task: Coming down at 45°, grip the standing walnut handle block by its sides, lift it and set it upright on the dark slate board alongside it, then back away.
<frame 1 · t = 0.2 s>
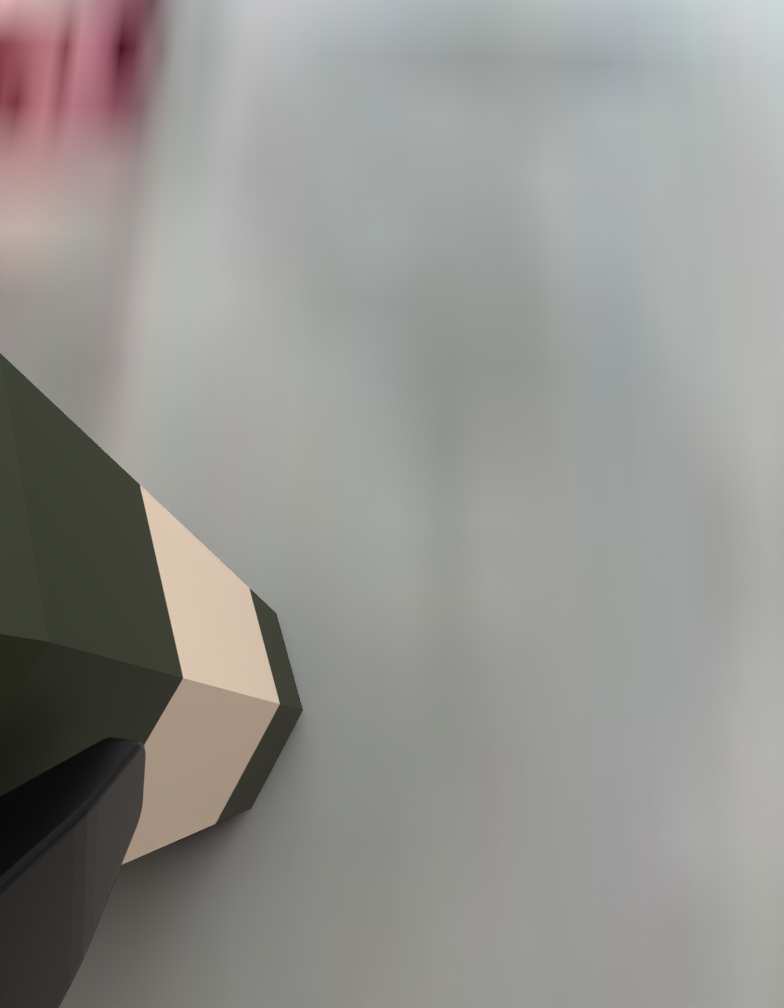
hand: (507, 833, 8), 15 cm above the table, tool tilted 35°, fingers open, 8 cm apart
wine bottle: (173, 699, 23), on the table, touching gripper
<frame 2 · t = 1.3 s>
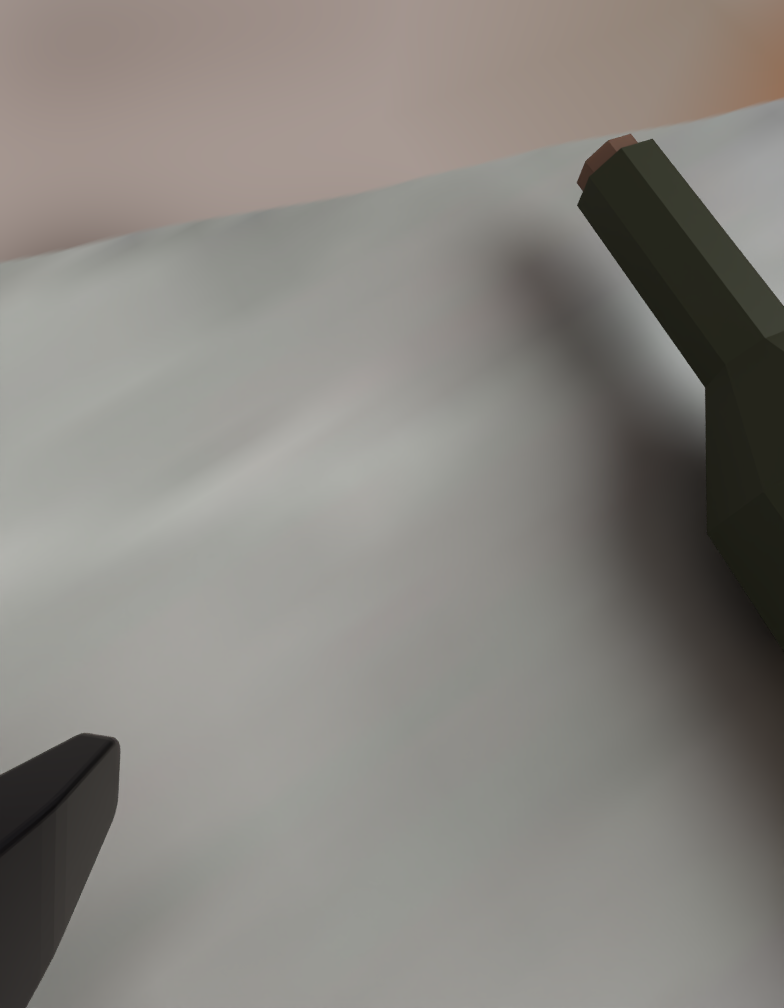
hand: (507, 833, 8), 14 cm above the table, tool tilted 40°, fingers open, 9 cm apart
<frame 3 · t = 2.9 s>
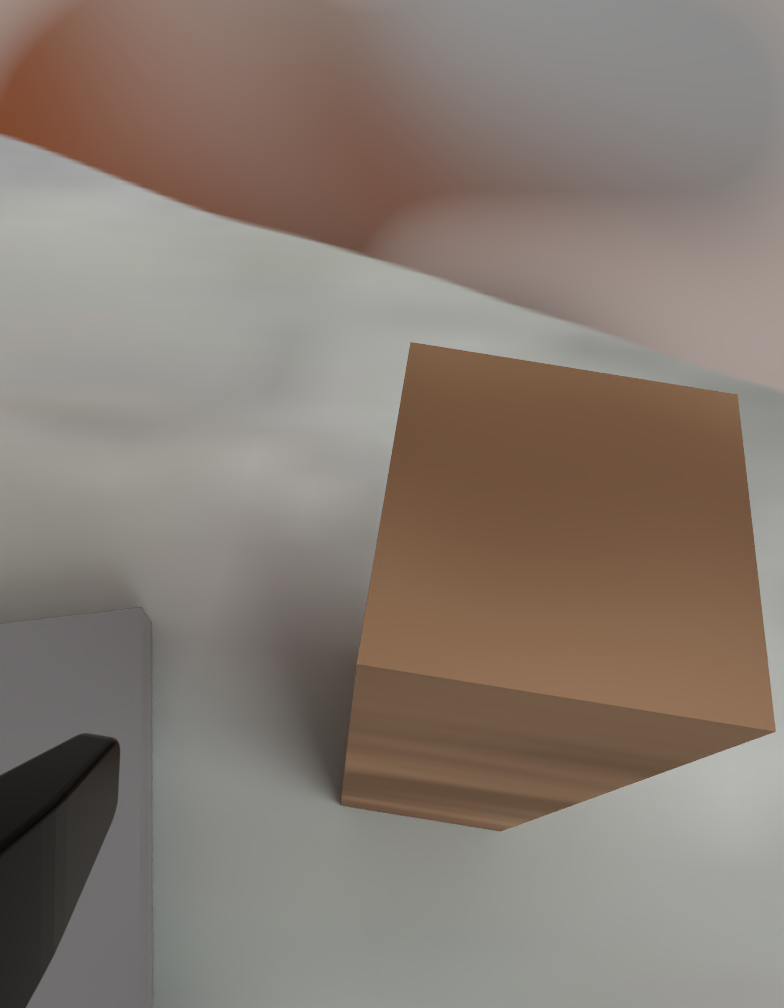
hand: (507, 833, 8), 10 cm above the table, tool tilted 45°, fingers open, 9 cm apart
walnut handle: (429, 735, 19), on the table
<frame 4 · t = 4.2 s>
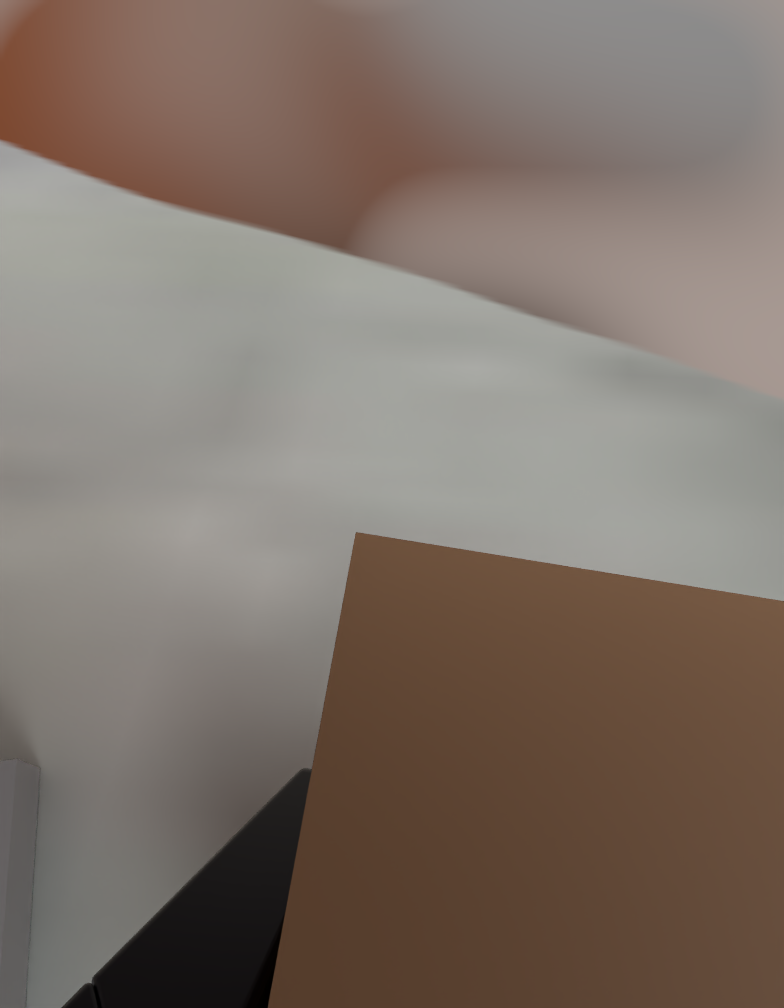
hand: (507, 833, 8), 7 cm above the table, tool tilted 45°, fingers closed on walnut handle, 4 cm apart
walnut handle: (425, 935, 13), on the table, touching gripper
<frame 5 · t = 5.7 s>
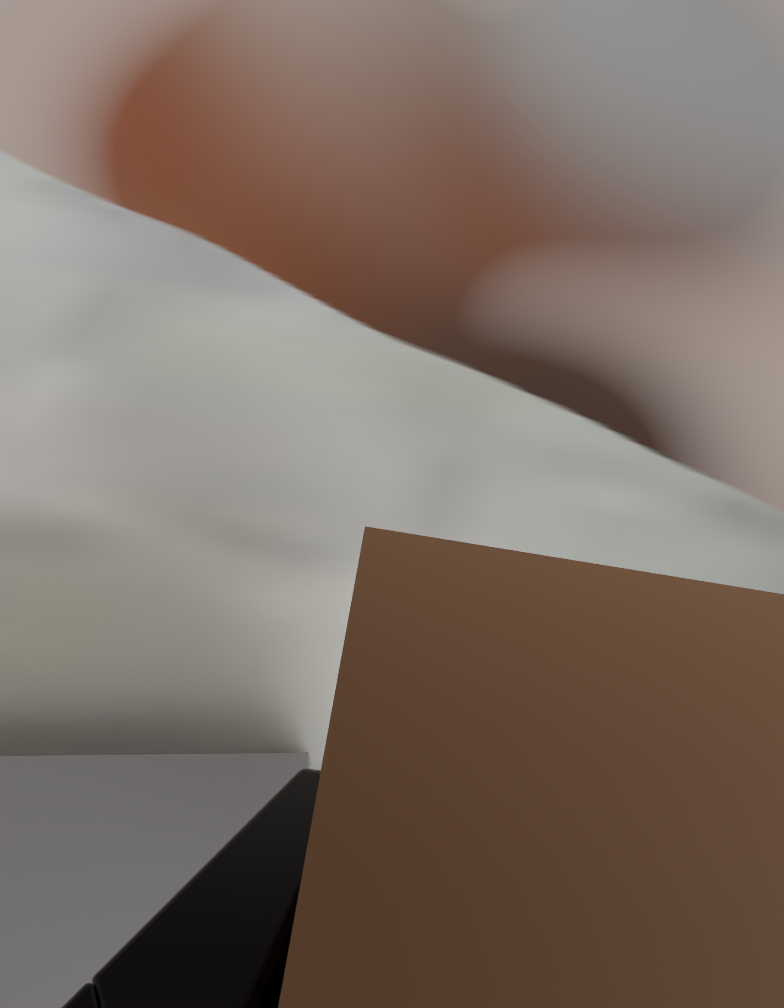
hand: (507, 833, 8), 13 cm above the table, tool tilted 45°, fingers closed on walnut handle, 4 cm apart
walnut handle: (427, 933, 13), point 7 cm above the table, touching gripper
when the fingers open (9 cm above the table, at t = 7.5 s): walnut handle drops 1 cm, resting on slate board.
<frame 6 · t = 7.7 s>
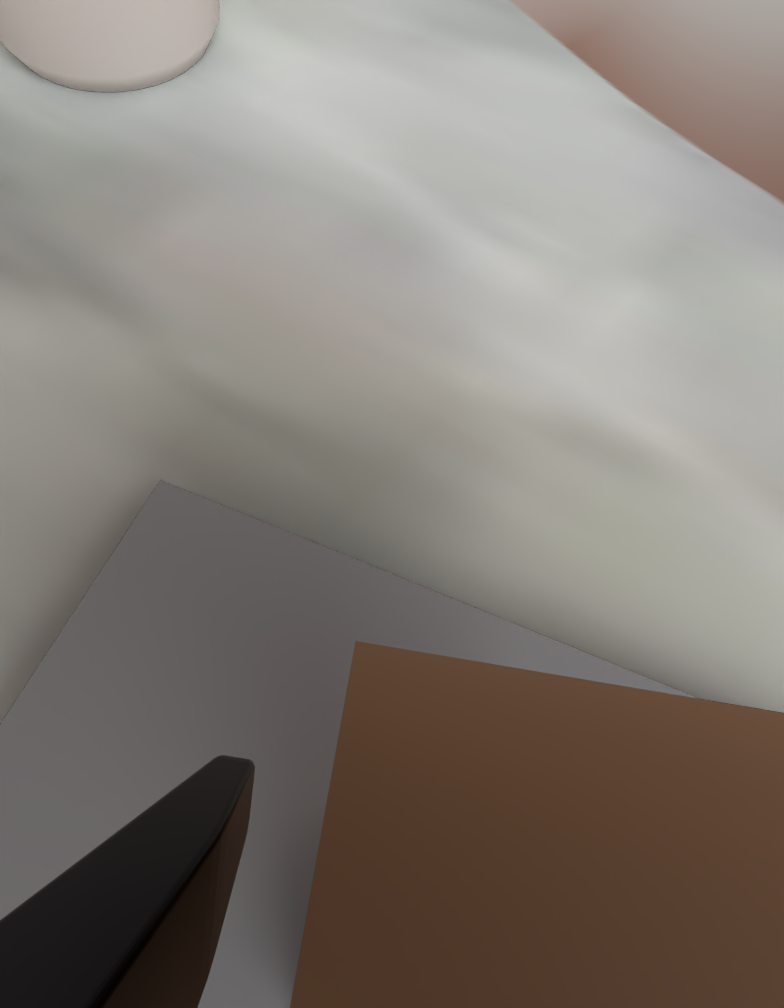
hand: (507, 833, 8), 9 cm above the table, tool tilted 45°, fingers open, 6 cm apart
walnut handle: (419, 927, 15), point 1 cm above the table, touching slate board
alcohol: (115, 38, 30), on the table
slate board: (411, 926, 16), on the table
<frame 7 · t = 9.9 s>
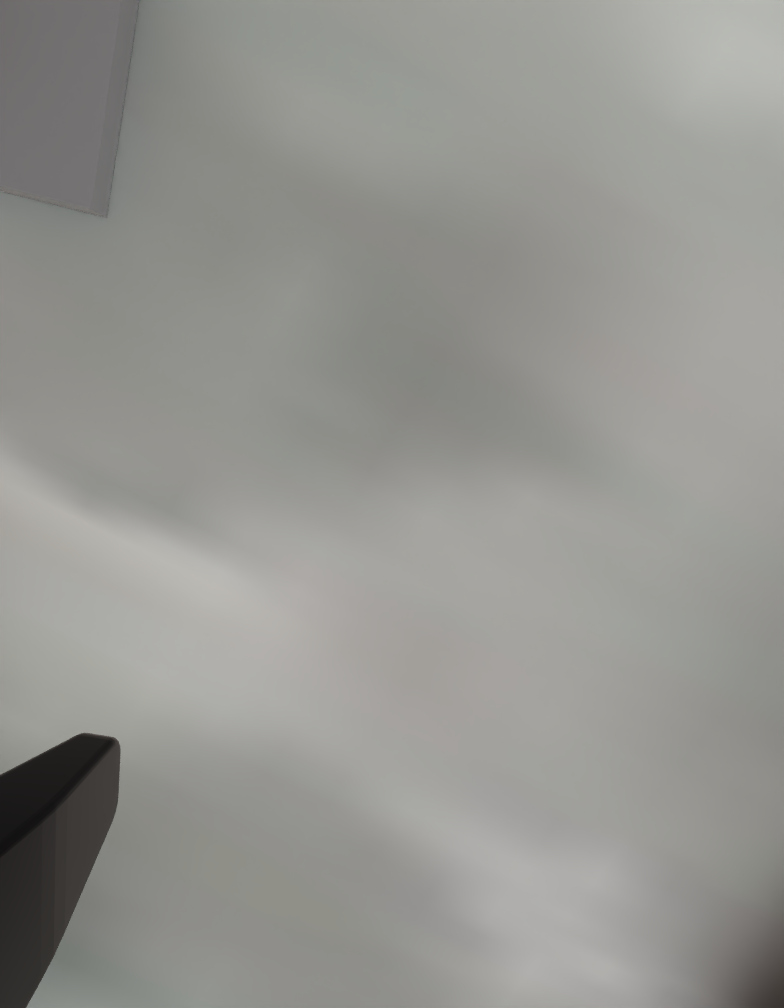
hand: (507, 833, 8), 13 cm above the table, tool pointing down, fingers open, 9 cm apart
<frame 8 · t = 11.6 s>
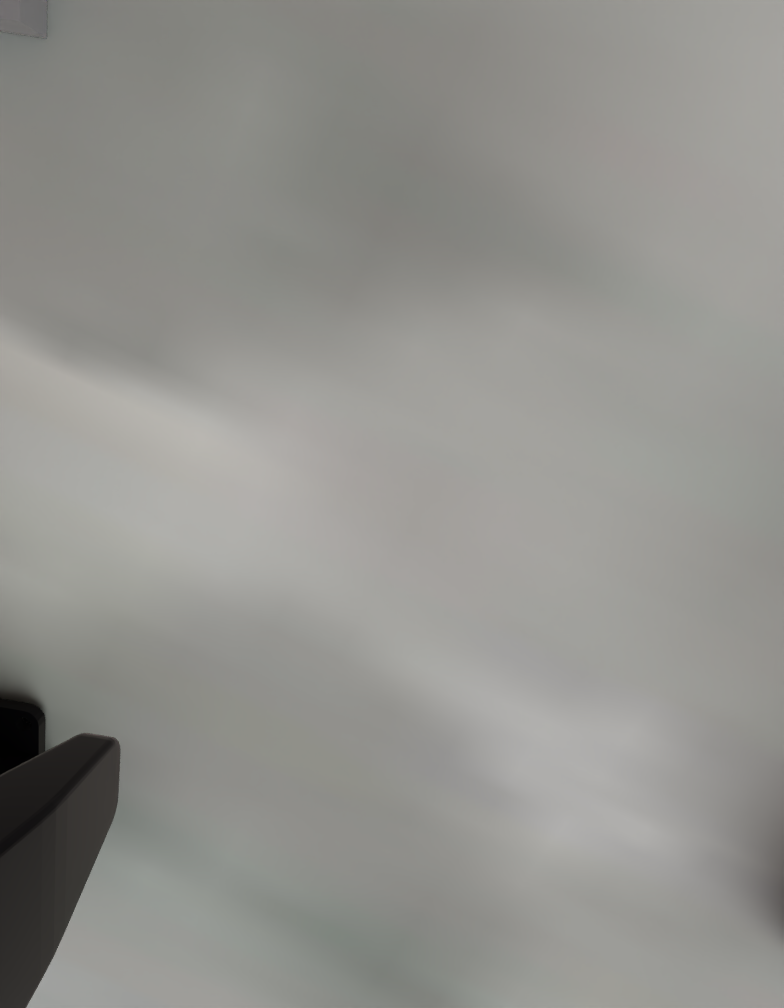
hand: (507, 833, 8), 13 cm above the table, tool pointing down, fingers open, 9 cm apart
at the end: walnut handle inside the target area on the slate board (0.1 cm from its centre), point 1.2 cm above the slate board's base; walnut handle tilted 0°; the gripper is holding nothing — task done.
